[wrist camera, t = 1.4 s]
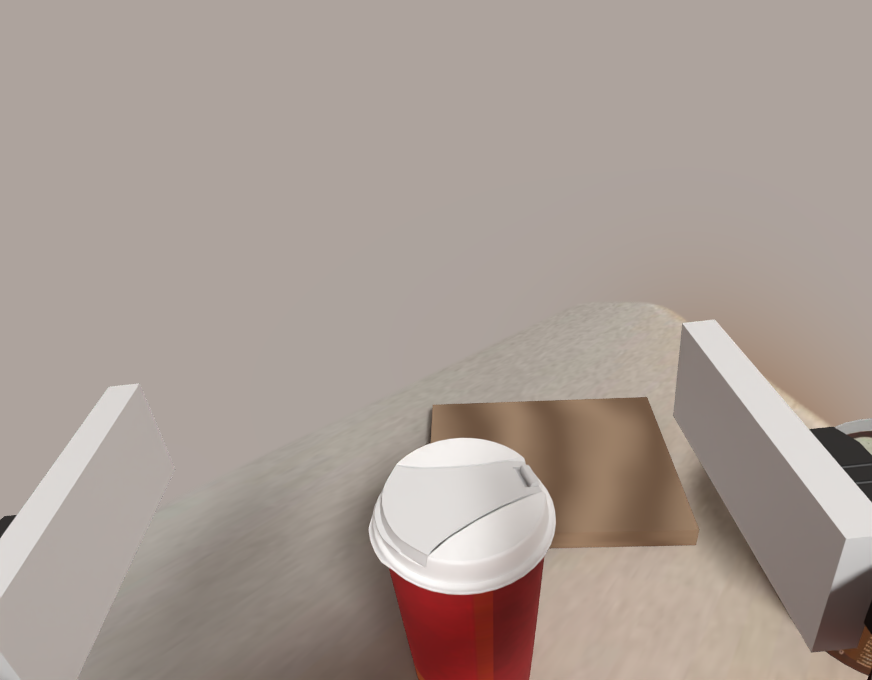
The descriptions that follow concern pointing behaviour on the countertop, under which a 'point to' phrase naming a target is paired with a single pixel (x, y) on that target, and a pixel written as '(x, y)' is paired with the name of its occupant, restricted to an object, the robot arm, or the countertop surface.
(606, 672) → the countertop surface
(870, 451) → the food container
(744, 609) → the countertop surface
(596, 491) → the walnut board
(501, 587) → the coffee cup
